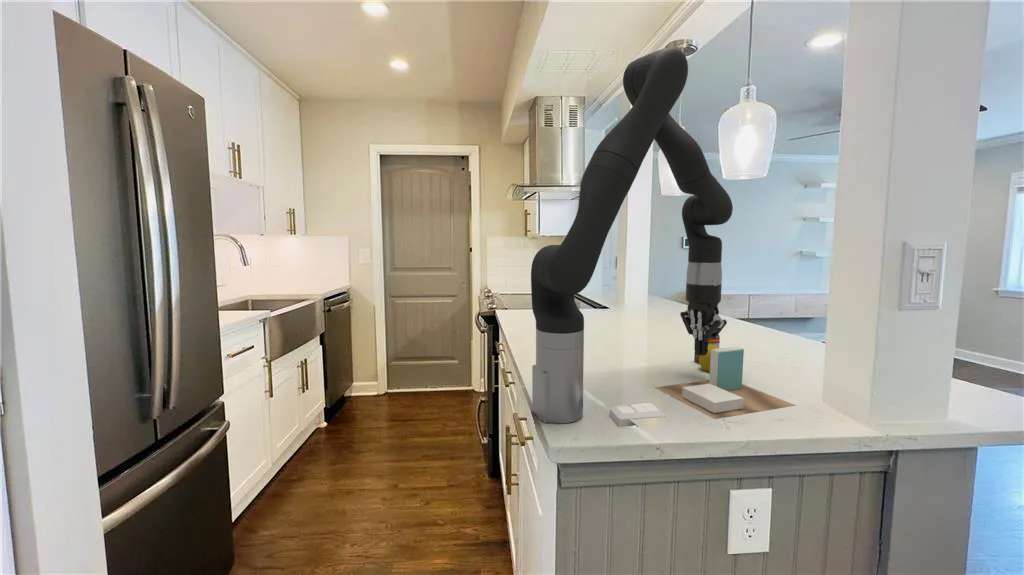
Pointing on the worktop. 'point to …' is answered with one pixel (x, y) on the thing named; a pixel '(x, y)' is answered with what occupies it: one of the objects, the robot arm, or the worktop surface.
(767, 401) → the board
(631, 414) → the white light switch
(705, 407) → the tile near
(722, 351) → the tile far
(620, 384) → the worktop surface
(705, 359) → the lemon
